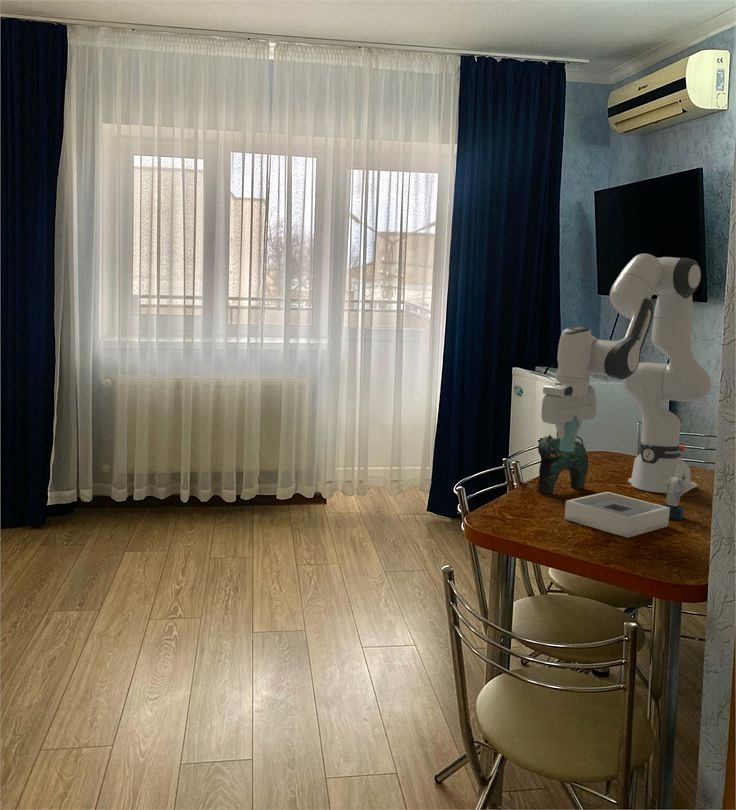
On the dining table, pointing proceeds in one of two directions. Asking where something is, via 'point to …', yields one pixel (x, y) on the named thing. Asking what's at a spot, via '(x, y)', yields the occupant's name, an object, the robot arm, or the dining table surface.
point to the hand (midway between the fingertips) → (567, 437)
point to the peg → (569, 436)
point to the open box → (617, 514)
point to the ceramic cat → (561, 464)
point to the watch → (675, 497)
